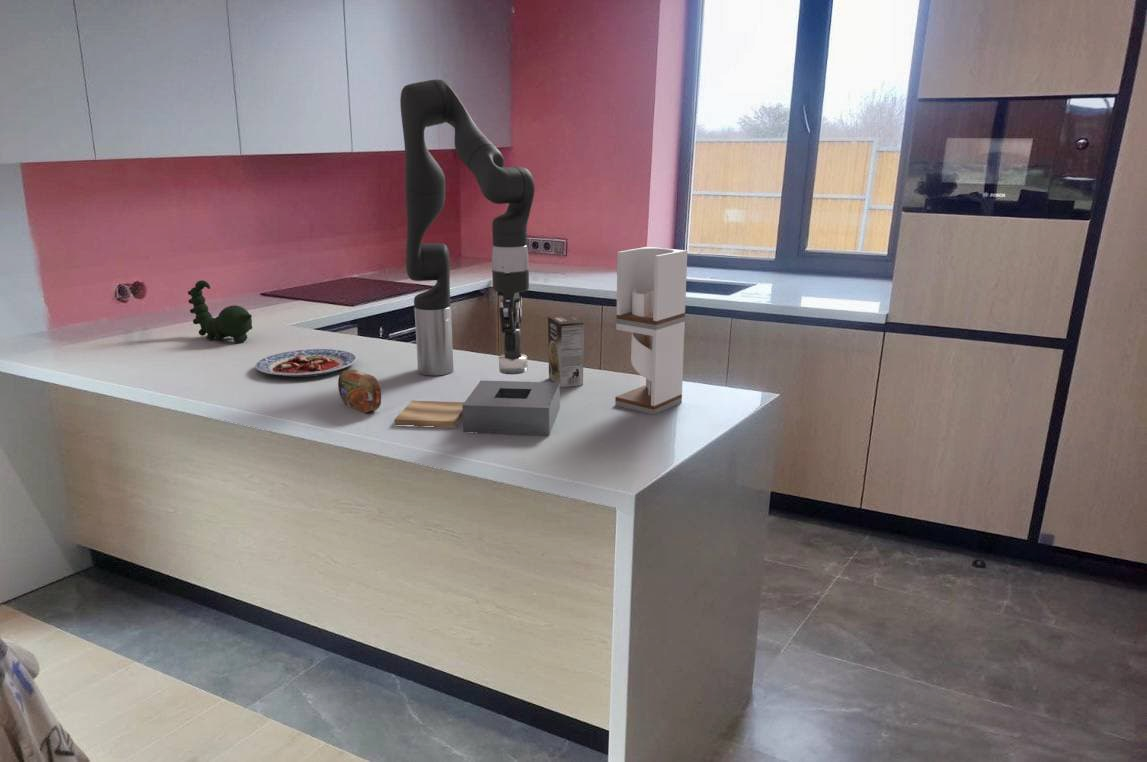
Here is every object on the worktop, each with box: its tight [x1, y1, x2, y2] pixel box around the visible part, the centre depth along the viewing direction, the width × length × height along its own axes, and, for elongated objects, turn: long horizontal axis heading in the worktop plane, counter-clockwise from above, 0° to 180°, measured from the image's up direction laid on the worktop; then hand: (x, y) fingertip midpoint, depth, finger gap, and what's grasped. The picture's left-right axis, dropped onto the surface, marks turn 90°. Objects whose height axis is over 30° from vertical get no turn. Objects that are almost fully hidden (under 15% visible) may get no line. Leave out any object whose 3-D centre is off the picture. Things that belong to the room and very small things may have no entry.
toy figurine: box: [187, 279, 253, 344], centre depth 244 cm, size 9×19×25 cm
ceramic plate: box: [255, 348, 358, 378], centre depth 216 cm, size 26×26×3 cm
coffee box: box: [547, 314, 585, 388], centre depth 202 cm, size 9×6×16 cm
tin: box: [337, 369, 382, 413], centre depth 183 cm, size 15×3×8 cm, turn 45°
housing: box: [462, 379, 561, 436], centre depth 175 cm, size 18×18×6 cm
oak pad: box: [393, 400, 465, 429], centre depth 178 cm, size 13×13×2 cm
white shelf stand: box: [614, 246, 688, 416], centre depth 182 cm, size 11×11×35 cm
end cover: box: [498, 327, 529, 375], centre depth 172 cm, size 6×6×9 cm
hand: (512, 348), depth 172 cm, fingers closed on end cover, 3 cm apart
